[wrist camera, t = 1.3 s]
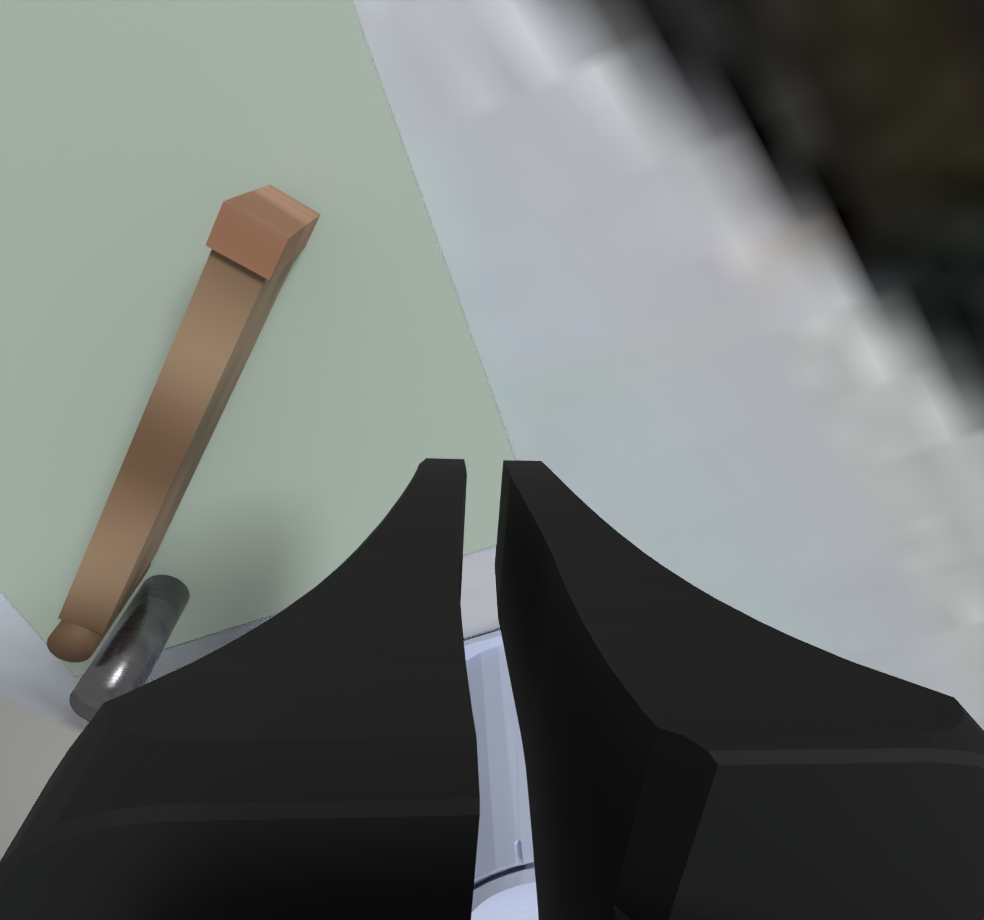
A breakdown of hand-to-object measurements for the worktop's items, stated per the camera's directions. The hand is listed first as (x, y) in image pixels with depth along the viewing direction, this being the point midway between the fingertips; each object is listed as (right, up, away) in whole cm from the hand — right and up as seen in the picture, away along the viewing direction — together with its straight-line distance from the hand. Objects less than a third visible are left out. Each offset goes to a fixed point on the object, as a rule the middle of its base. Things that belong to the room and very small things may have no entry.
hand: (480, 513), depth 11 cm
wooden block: (-8, +2, +9) cm, 12 cm away
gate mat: (-10, +5, +9) cm, 14 cm away
